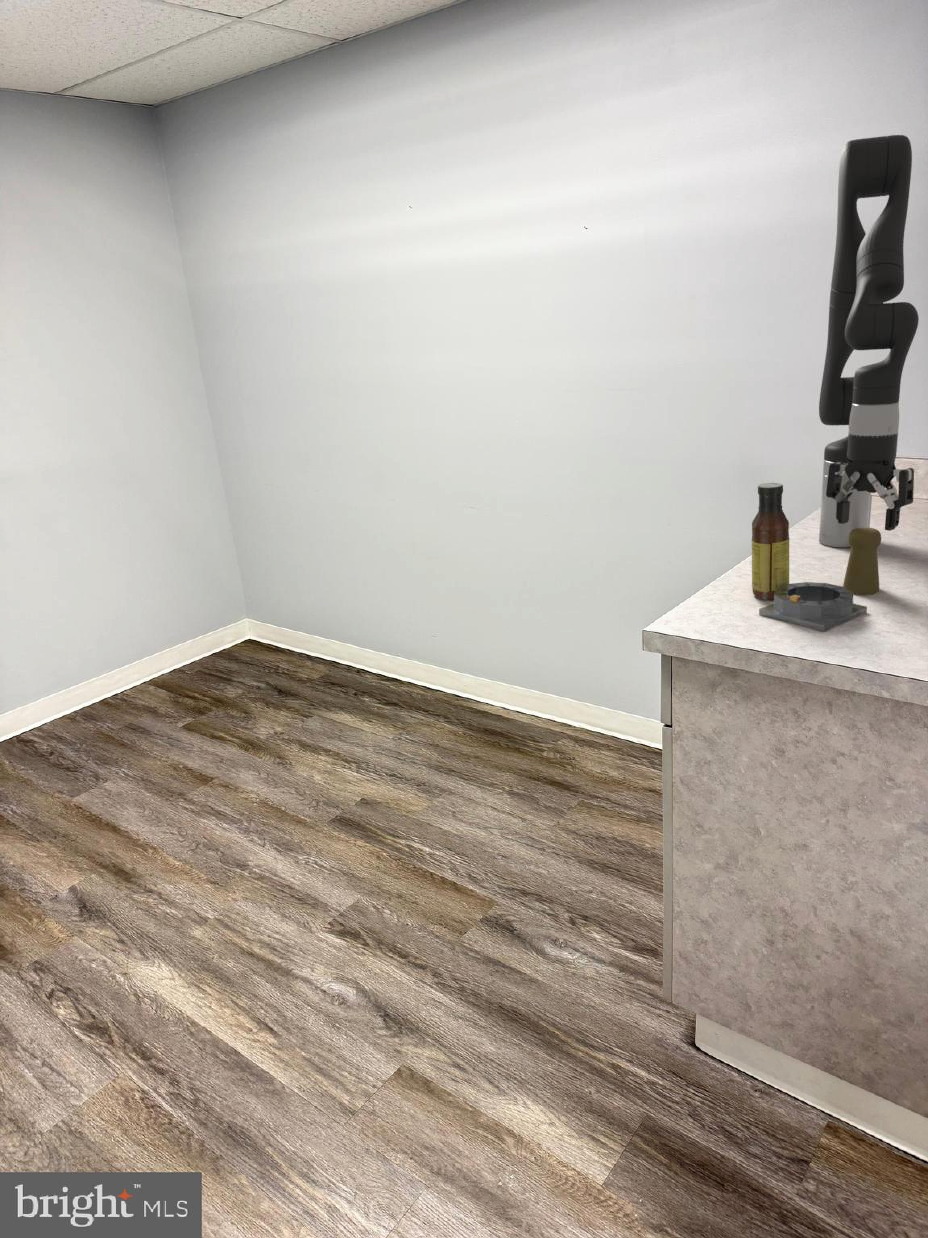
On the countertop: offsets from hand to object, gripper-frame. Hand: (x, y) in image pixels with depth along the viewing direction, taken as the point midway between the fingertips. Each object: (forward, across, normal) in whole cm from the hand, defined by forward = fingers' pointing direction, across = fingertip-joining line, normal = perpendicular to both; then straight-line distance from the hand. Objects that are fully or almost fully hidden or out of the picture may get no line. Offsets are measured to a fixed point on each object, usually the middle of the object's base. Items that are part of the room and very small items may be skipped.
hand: (866, 526), depth 154 cm
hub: (+12, -1, +16) cm, 20 cm away
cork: (+12, 0, 0) cm, 12 cm away
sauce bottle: (+12, +10, +13) cm, 20 cm away
